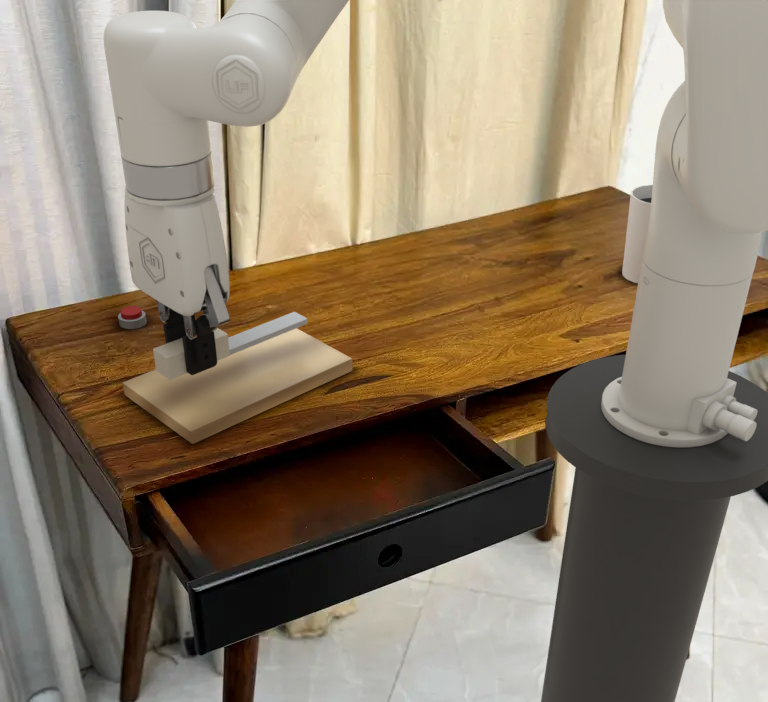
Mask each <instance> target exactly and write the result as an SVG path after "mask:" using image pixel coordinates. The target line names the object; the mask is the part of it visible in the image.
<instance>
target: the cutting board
mask: <svg viewBox="0 0 768 702" xmlns="http://www.w3.org/2000/svg"><path fill="white" fill-rule="evenodd" d="M351 372H353V358H352V357H350V356H348V355H346V354H344V353H343V352H341V351H339V350H337V349H335V348H334V347H332V346H330V345H328V344H326V343H324V342H323V341H321V340H319V339H317V338H315V337H314V336H312V335H310V334H309V333H307V332H305V331H302V330H301V329H299V328H296V329H293V330H291V331H288V332H286V333H283V334H281V335H278V336H276V337H273V338H271V339H269V340H266V341H264V342H261V343H259V344H256V345H254V346H251V347H249V348H246V349H244V350H241V351H239V352H236V353H234V354H232V355H230V356H228V357H226V358H223V359H221V360H218V361H217V365H216V366H214V367H212V368H209V369H207V370H204V371H202V372H200V373H197V374H195V375H190V374H189V373H186V374H184V375H181V376H179V377H176V378H174V379H172V380H169V379H168V378H166V377H165V376H163V375H162V374H160V373H159V372H157V371H156V368H155V369H152V370H151V371H148V372H145V373H143V374H141V375H138V376H135V377H133V378H130V379H128V380H125V381H123V382H122V388H123V394H124V396H125V397H127V398H128V399H129V400H131V401H132V402H133V403H135V404H136V405H138V406H139V407H140V408H142V409H143V410H145V412H147V413H148V414H150V415H151V416H153V417H154V418H155V419H157V420H158V421H160V422H161V423H162V424H164V425H165V426H167V427H168V428H170V430H172V431H173V432H175V433H176V434H177V435H179V436H180V437H182V438H183V439H185V440H186V441H187V442H188V443H190V444H192V445H194V444H196V443H199V442H201V441H203V440H205V439H207V438H210V437H211V436H214V435H216V434H218V433H220V432H222V431H225V430H227V429H229V428H231V427H233V426H235V425H237V424H240V423H242V422H244V421H247V420H248V419H250V418H252V417H255V416H258V415H260V414H261V413H263V412H266V411H268V410H270V409H272V408H275V407H276V406H279V405H281V404H283V403H286V402H287V401H290V400H292V399H295V398H296V397H298V396H301V395H303V394H305V393H307V392H309V391H311V390H314V389H316V388H318V387H320V386H323V385H324V384H326V383H327V384H328V383H329V382H331V381H333V380H335V379H338V378H340V377H342V376H344V375H346V374H349V373H351Z"/></svg>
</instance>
